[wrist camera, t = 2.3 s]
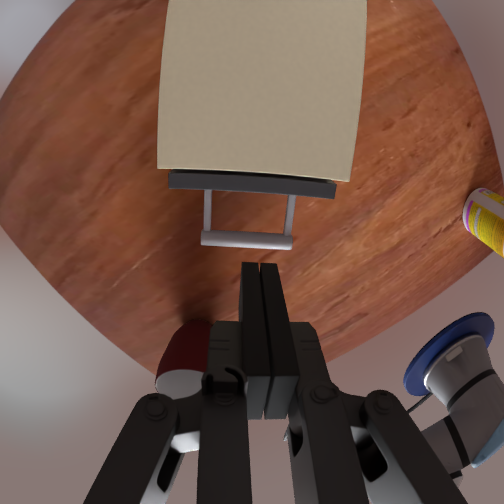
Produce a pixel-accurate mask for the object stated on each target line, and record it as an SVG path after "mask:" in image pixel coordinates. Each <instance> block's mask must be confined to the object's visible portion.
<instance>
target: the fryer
mask: <svg viewBox="0 0 504 504" xmlns="http://www.w3.org/2000/svg"><path fill="white" fill-rule="evenodd" d="M366 19H367V0H169V4H168V11H167V18H166V25H165V33H164V42H163V51H162V62H161V74H160V88H159V106H158V136H157V168H158V169H206V170H229V171H246V172H261V173H273V174H285V175H295V176H305V177H314V178H323V179H331V180H339V181H347V182H349V180H350V174H351V168H352V162H353V156H354V149H355V142H356V135H357V128H358V120H359V112H360V103H361V94H362V83H363V72H364V59H365V43H366Z"/></svg>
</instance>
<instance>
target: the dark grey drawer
mask: <svg viewBox="0 0 504 504" xmlns="http://www.w3.org/2000/svg"><path fill="white" fill-rule="evenodd" d="M168 184H169V189H199V190H204V229H203V230H202V232H201V245H207V246H227V247H246V248H265V249H284V250H291V248H292V243H293V238H292V235H291V229H292V222H293V215H294V208H295V200H296V196H307V197H317V198H327V199H334V197H335V192H336V186H337V184H335V183H334V182H333V181H332V180H331V179H323V178H314V177H305V176H295V175H285V174H273V173H261V172H246V171H229V170H206V169H172V170H171V171H170V172H169V173H168ZM212 190H223V191H241V192H257V193H271V194H284V195H288V200H287V208H286V215H285V223H284V230H283V234H278V233H261V232H243V231H225V230H211V210H212Z"/></svg>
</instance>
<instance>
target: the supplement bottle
mask: <svg viewBox="0 0 504 504" xmlns="http://www.w3.org/2000/svg"><path fill="white" fill-rule="evenodd" d="M463 222H464V225H465V227H466V229H467V230H468V231H469V232H470V233H472V234H473V235H474V236H476V237H477V238H478V239H480V240H481V241H482V242H484V243H485V244H486V245H488V246H489V247H490V248H491V249H493V250H494V251H495V252H497V253H498V254H499V255H500V256H502V257H503V258H504V197H502V196H500V195H498V194H496V193H494V192H492V191H490V190H488V189H486V188H478V189H476V190H474V191H473V192H472V193H471V194H470V195H469V197H468V198H467V200H466V202H465V205H464V209H463Z"/></svg>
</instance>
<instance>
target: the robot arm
mask: <svg viewBox="0 0 504 504" xmlns="http://www.w3.org/2000/svg"><path fill="white" fill-rule="evenodd" d="M422 380H423V383H424V385H425V387H426V388H427V389H428V390H429V391H430V392H429V393H428V394H427V395H426V396H425V397H423V398H422V399H421V400H420V401H419V402H418V403H416V404H415V405H414V406H413V407H411V408H410V409H408V410H407V411H406V410H405V409H404V407H403V406H402V404H401V403H400V401H399V400H398V399H397V397H396V396H394V395H393V394H392V393H390V392H388V391H385V390H375V391H372V392H371V393H369V394H368V395H367V397H362V396H356V395H350V394H346V393H344V392H342V391H340V390H339V388H338V387H337V386H336V385H335V384H334V383H332V382H331V380H330V377H329V373H328V370H327V366H326V363H325V360H324V356H323V353H322V350H321V346H320V343H319V339H318V336H317V333H316V330H315V329H314V328H313V327H312V326H311V325H310V323H309V322H289V317H288V313H287V308H286V303H285V299H284V294H283V290H282V285H281V281H280V276H279V272H278V267H277V264H275V263H261V264H260V274H259V266H258V263H254V262H242V267H241V281H240V295H239V322H238V321H217V320H216V322H215V323H214V324H213V326H212V327H211V329H210V336H209V345H208V356H207V366H206V371H205V372H204V373H203V376H202V379H201V386H202V388H201V389H200V390H199V391H198V392H197V393H195V394H193V395H191V396H188V397H184V398H179V399H172V398H171V397H169V396H167V395H165V394H160V393H152V394H147V395H145V396H144V397H142V398H141V399H140V400H139V401H138V402H137V403H136V405H135V407H134V409H133V410H132V412H131V414H130V416H129V418H128V420H127V421H126V423H125V425H124V427H123V428H122V430H121V432H120V434H119V436H118V438H117V440H116V441H115V443H114V445H113V447H112V449H111V451H110V453H109V454H108V456H107V458H106V460H105V462H104V464H103V466H102V468H101V470H100V472H99V474H98V475H97V477H96V479H95V481H94V483H93V485H92V487H91V489H90V491H89V493H88V495H87V497H86V499H85V501H84V503H83V504H166V501H167V498H168V496H169V493H170V491H171V488H172V485H173V483H174V480H175V478H176V475H177V472H178V470H179V467H180V465H181V462H182V460H183V457H184V454H185V452H189V451H194V450H198V449H199V458H198V477H197V504H252V491H251V474H250V457H249V456H250V455H249V438H248V420H251V419H253V420H254V419H255V420H260V419H261V418H262V414H263V410H264V416H265V419H285V418H286V416H287V413H288V417H289V425H288V427H287V430H286V433H285V435H284V441H286V440H287V438H288V444H289V453H290V462H291V471H292V479H293V488H294V495H295V496H294V497H295V504H369V500H368V497H369V499H370V501H371V503H372V504H468V503H467V502H466V500H465V498H464V497H463V495H462V494H461V492H460V490H459V489H458V488H459V486H460V484H461V482H462V480H463V476H462V473H461V469H463V468H464V467H466V466H468V465H469V464H471V466H472V467H474V468H476V467H478V466H480V465H481V464H482V463H483V462H485V461H486V460H487V459H489V458H490V457H491V456H492V455H493V454H495V453H496V452H497V451H498V450H499V449H500V448H501V447H502V446H503V445H504V384H503V383H502V381H501V380H500V378H499V377H498V375H497V374H496V372H495V371H494V369H493V367H492V365H491V361H490V357H489V354H488V351H487V348H486V343H485V340H484V339H483V337H482V336H481V335H480V334H479V333H478V332H470V333H466V334H464V335H462V336H460V337H458V338H456V339H455V340H453V341H452V342H450V343H449V344H448V345H446V346H445V347H444V348H443V349H442V350H441V351H440V352H439V353H437V355H436V356H435V357H434V358H433V359H432V360H431V361H430V363H429V364H428V365H427V367H426V369H425V371H424V373H423V376H422ZM432 394H434V395H435V396H436V397H437V398H438V399H439V400H440V401H441V402H442V403H444V404H445V406H446V408H447V410H448V412H449V415H448V416H446V417H445V418H443V419H441V420H440V421H438V422H437V423H435V424H433V425H432V426H430V427H428V428H427V429H425V430H423V431H420V430H419V429H418V427H417V426H416V424H415V423H414V421H413V420H412V418H411V417H410V416H409V413H410V412H411V411H413V410H414V409H415V408H417V407H418V406H419V405H421V404H422V403H423V402H424V401H425V400H427V399H428V398H429V397H430V396H431V395H432Z"/></svg>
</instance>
